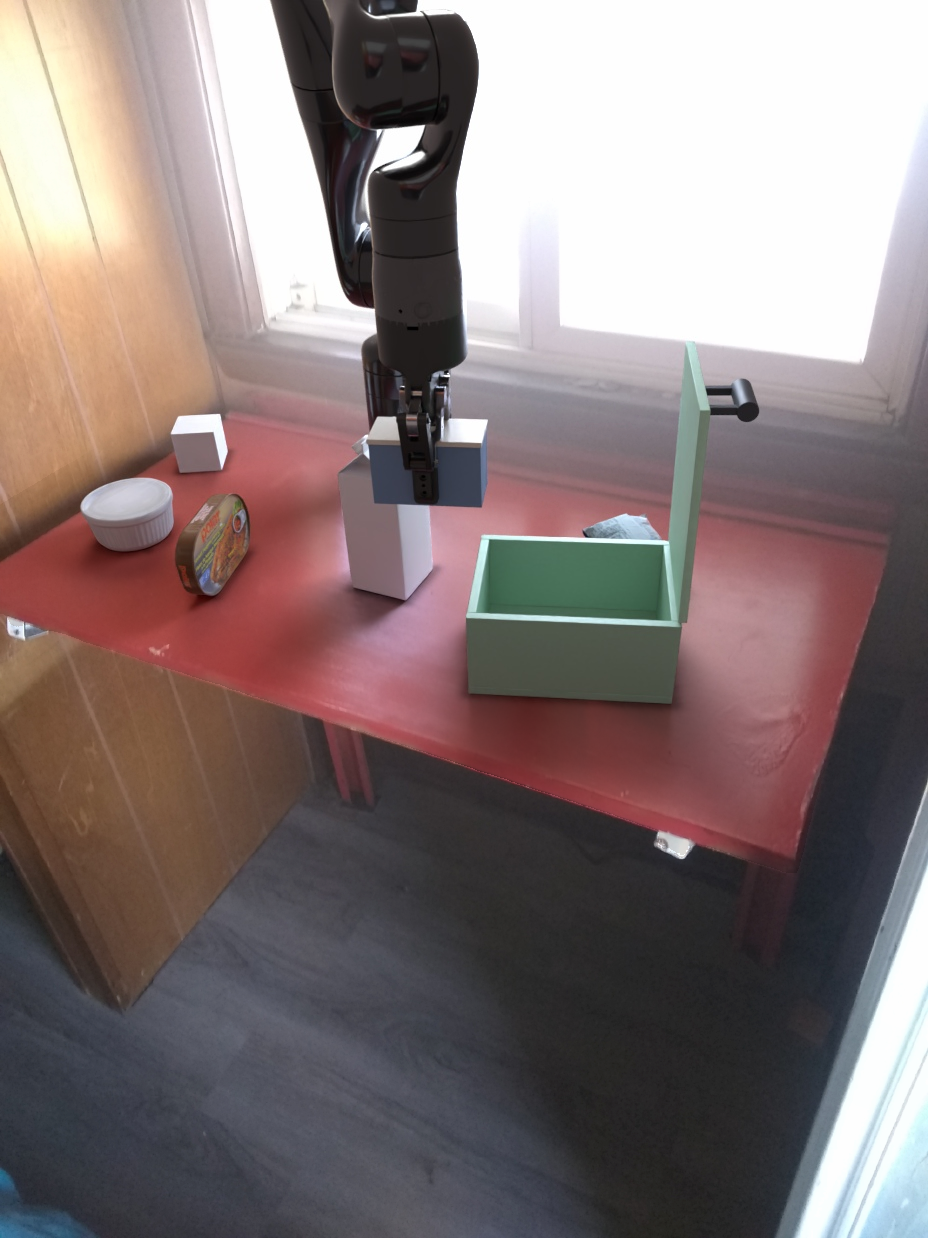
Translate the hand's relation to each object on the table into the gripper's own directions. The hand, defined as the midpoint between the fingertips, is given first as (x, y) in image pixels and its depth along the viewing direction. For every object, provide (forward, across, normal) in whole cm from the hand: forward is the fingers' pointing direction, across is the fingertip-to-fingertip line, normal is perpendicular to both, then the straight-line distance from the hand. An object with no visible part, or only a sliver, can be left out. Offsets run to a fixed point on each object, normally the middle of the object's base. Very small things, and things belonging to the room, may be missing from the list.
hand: (431, 487), depth 85 cm
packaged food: (+20, -18, +20) cm, 33 cm away
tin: (+20, -12, -29) cm, 37 cm away
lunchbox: (+19, -1, +14) cm, 24 cm away
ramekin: (+20, -20, -43) cm, 51 cm away
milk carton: (+20, -13, -8) cm, 25 cm away
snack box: (+1, 0, 0) cm, 1 cm away
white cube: (+20, -40, -41) cm, 61 cm away
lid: (-1, -1, +23) cm, 23 cm away
